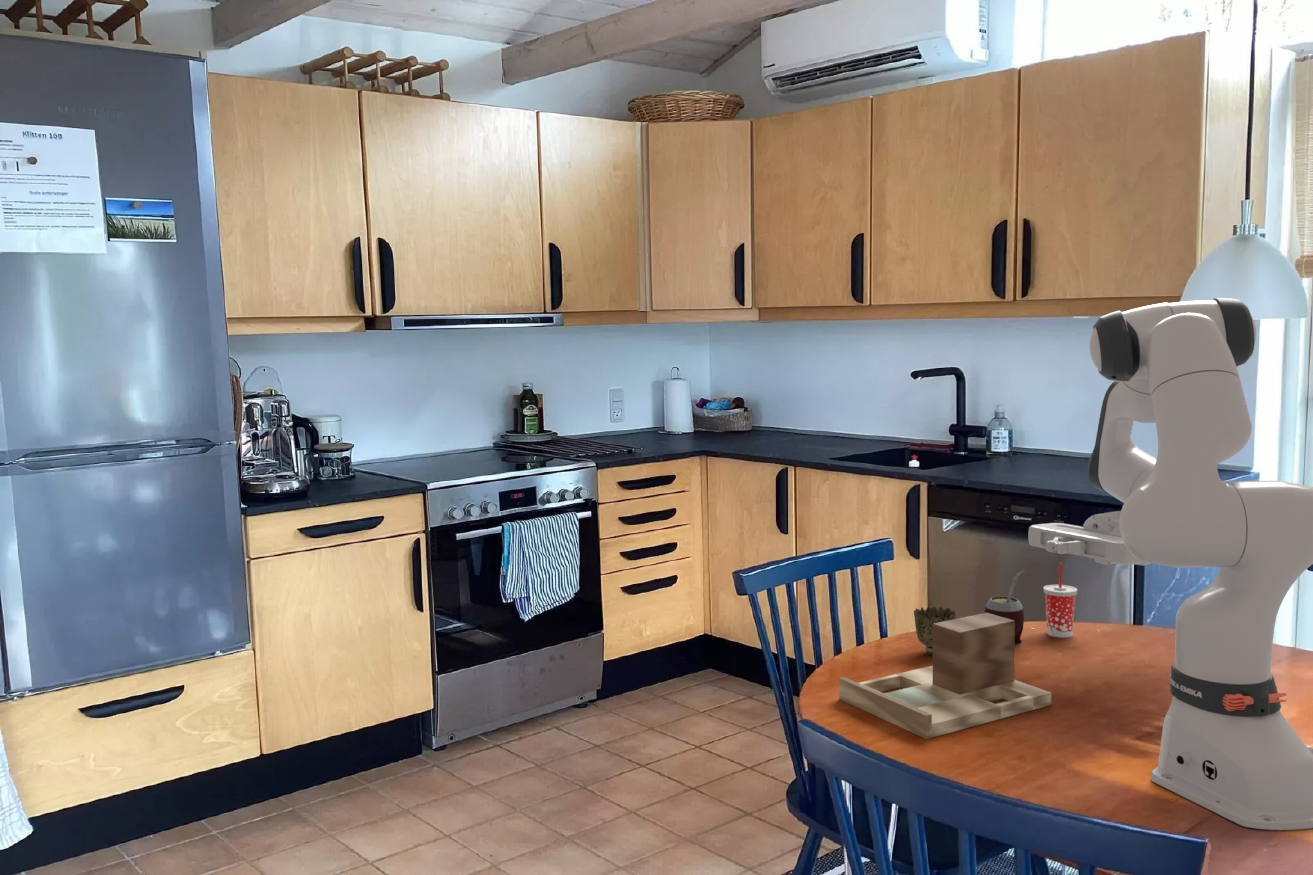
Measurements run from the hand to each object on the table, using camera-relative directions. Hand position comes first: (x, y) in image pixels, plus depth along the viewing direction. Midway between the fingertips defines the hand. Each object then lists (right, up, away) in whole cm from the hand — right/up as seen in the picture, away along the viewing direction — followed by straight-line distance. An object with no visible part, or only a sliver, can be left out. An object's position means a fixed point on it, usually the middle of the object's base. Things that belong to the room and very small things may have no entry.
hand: (1052, 547), depth 179 cm
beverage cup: (+11, -19, +26) cm, 34 cm away
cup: (-16, -21, +15) cm, 31 cm away
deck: (-21, -24, -10) cm, 33 cm away
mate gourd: (-1, -20, +22) cm, 30 cm away
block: (-15, -21, -7) cm, 27 cm away
